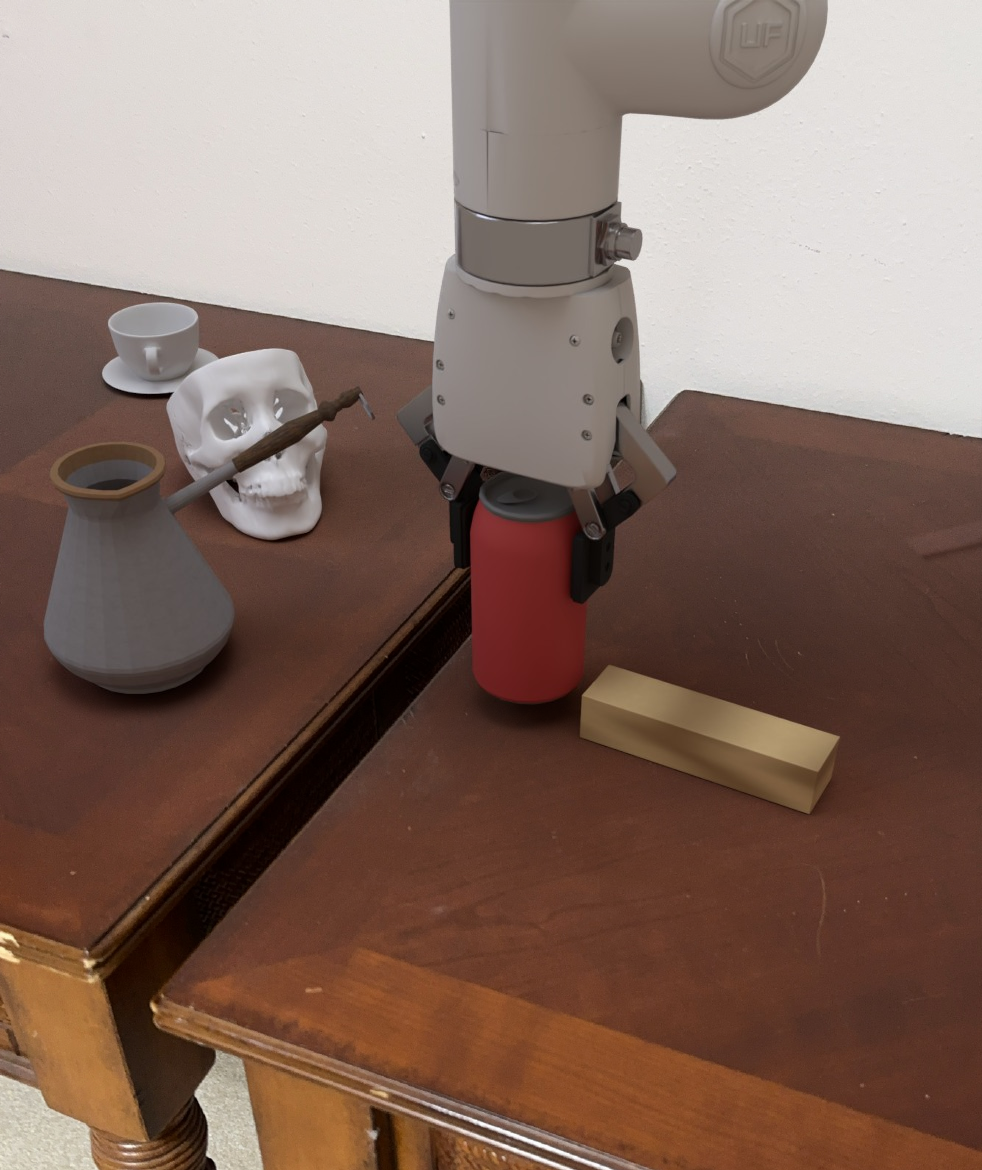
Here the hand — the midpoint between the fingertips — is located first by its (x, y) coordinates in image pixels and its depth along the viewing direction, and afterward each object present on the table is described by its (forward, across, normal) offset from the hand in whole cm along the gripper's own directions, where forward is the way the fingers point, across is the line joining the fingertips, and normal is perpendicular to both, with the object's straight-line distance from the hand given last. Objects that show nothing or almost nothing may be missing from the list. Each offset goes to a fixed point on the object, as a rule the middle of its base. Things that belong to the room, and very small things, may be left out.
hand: (529, 572), depth 75 cm
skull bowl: (+9, +30, -13) cm, 33 cm away
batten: (+9, -11, 0) cm, 14 cm away
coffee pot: (+9, +20, +4) cm, 22 cm away
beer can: (+7, 0, 0) cm, 7 cm away
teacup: (+9, +50, -26) cm, 57 cm away
